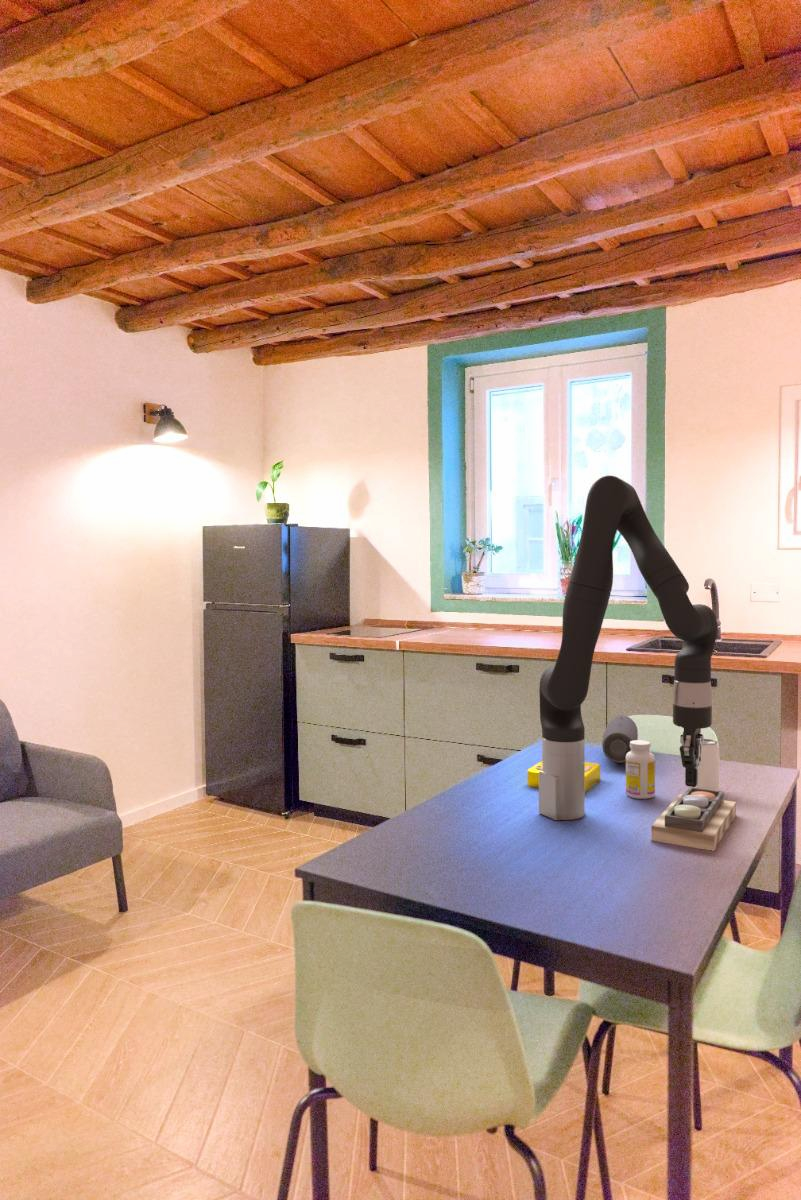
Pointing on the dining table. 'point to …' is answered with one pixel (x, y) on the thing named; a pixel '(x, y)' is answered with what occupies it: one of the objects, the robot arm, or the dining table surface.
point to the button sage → (687, 811)
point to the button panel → (695, 823)
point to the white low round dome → (696, 801)
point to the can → (709, 766)
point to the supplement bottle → (640, 770)
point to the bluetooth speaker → (619, 738)
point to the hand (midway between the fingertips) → (691, 785)
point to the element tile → (590, 774)
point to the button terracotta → (704, 794)
